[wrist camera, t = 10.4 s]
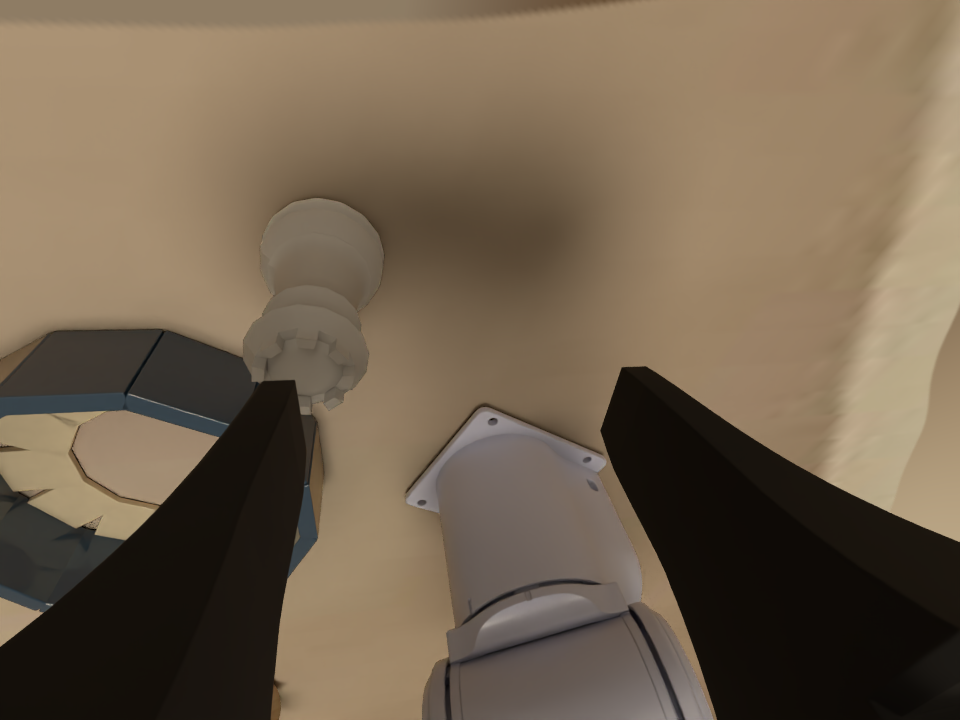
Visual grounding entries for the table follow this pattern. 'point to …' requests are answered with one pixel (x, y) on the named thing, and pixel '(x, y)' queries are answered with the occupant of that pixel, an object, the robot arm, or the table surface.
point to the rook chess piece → (315, 300)
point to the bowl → (81, 397)
